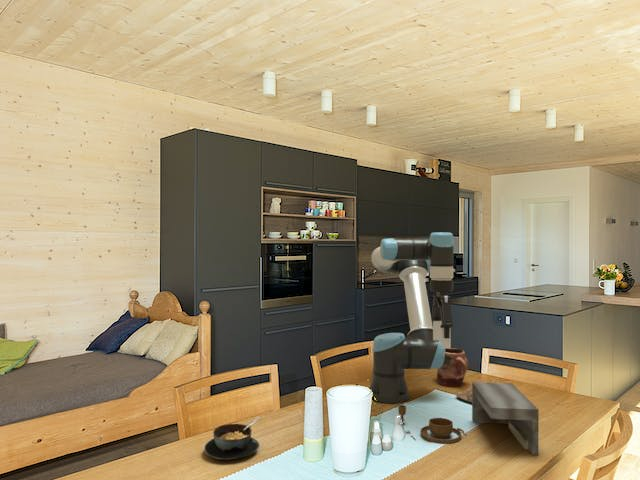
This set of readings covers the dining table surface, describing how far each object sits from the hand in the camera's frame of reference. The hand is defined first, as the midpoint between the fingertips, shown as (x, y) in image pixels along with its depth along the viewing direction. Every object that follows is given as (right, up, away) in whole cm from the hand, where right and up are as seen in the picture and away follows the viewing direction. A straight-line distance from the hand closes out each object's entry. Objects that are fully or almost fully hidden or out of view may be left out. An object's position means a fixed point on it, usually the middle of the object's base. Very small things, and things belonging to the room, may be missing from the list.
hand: (441, 344), depth 166 cm
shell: (+13, -25, +14) cm, 32 cm away
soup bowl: (-64, -25, -25) cm, 73 cm away
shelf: (+14, -24, -16) cm, 32 cm away
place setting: (-5, -25, -11) cm, 28 cm away
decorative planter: (+14, -25, +39) cm, 48 cm away
